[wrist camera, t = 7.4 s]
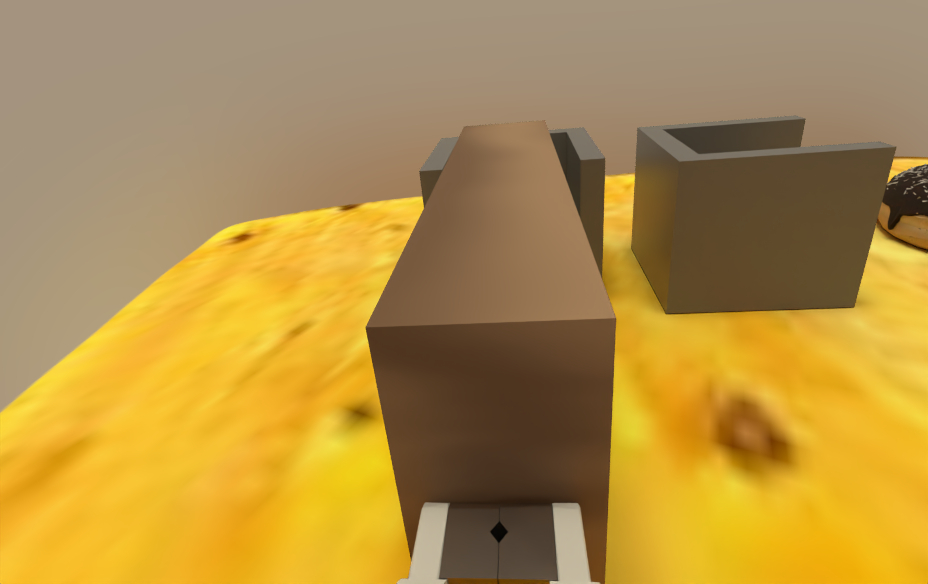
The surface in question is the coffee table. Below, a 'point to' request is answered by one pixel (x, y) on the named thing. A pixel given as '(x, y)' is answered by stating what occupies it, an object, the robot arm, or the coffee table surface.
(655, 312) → the coffee table surface
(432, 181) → the end cap
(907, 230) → the donut
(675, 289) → the end cap
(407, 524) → the slat
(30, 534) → the coffee table surface
